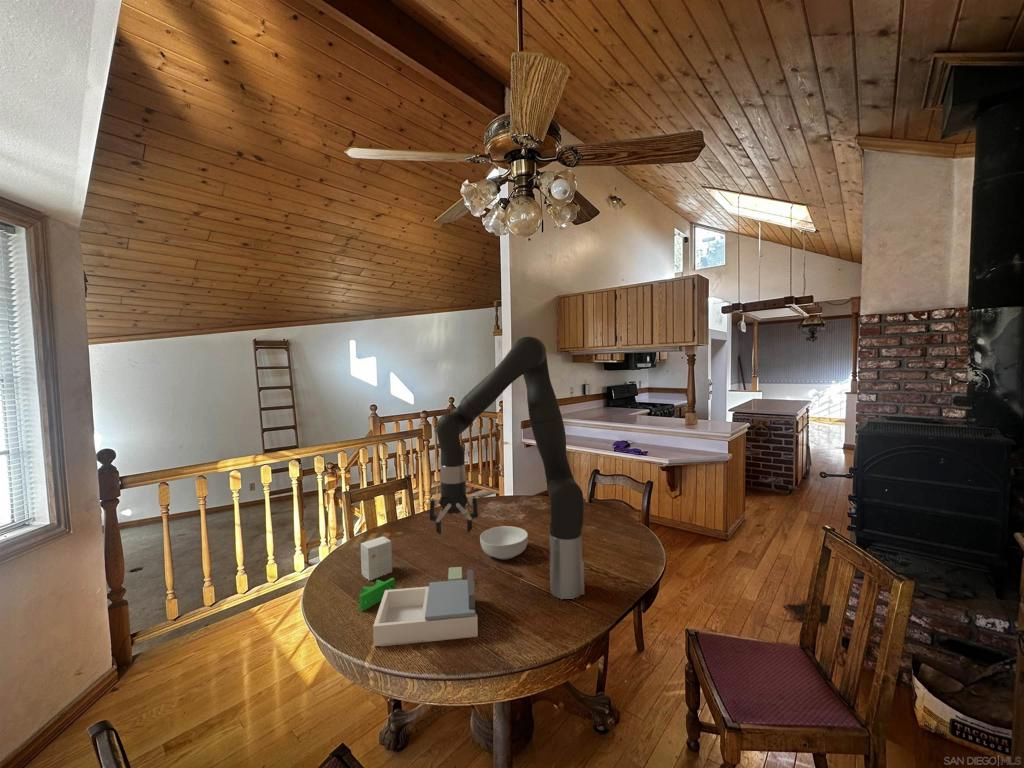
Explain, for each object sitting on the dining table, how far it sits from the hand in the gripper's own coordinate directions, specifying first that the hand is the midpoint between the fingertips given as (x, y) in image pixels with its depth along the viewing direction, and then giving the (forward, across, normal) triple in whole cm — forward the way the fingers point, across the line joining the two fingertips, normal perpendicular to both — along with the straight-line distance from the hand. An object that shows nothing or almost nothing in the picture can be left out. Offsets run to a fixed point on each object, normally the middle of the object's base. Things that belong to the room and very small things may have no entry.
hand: (454, 532), depth 123 cm
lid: (+11, +1, +17) cm, 20 cm away
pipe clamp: (+16, +22, +4) cm, 28 cm away
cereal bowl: (+16, -17, -18) cm, 30 cm away
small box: (+16, +25, -11) cm, 32 cm away
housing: (+16, +7, +17) cm, 24 cm away
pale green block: (+16, 0, 0) cm, 16 cm away
